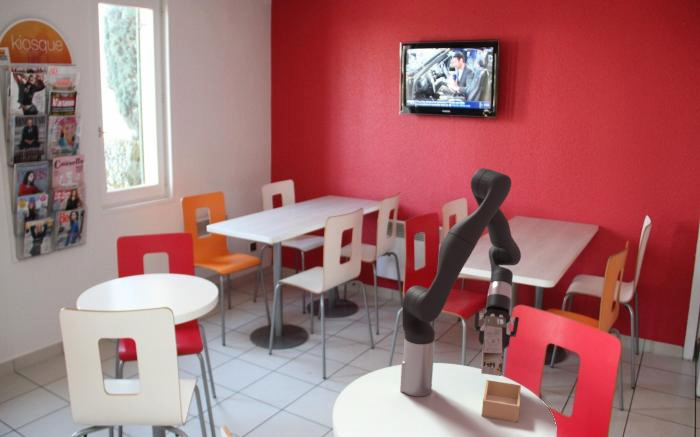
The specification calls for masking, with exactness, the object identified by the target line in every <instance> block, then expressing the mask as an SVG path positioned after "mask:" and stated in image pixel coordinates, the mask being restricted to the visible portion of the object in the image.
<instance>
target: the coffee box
mask: <svg viewBox="0 0 700 437" xmlns="http://www.w3.org/2000/svg"><path fill="white" fill-rule="evenodd" d="M484 323H485V328H484V338H483V345H482V349H481V350H482V351H481V361H480V365H481V366H480V368H481V372H480V373H481V374H483V375H490V376H495V377H496V376H497V377H501V376H502V373H503V372H502V371H503V364H504V356H505V349H506V348H505V340H506V331H507V326H508V324H507V325H506V318H504V317H494V316H486V318H484Z"/></svg>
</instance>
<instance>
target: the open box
mask: <svg viewBox="0 0 700 437" xmlns="http://www.w3.org/2000/svg"><path fill="white" fill-rule="evenodd" d="M521 388H522V386H521V384H516V383H507V382H502V381H495V380H489V379H486V381H485V387H484V393H483V397H482V408H481V410H482V411H481V417H486V418H490V419H497V420H503V421H507V422H508V421H509V422H514V423H519V414H520V405H521V404H520V403H521V390H522V389H521Z"/></svg>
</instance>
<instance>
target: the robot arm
mask: <svg viewBox="0 0 700 437" xmlns="http://www.w3.org/2000/svg"><path fill="white" fill-rule="evenodd" d="M470 180H471V181H470V190H471V193H472V195H473V197H474V199H475V201H476V203H477V205H478V207H477V209H476V210H475V211H473V212H472V213H471V214H469V215H467V216H465V217H464V218H462V219H461V220H460V221H458V222H457V223H455V224H454V225H452V226H451V228H450V229H449V230H448V232H447V234H446V236H445V237H444V239H443V241H442V242H441V244H440V245H439V246H440V247H439V251H438V258H437V260H438V261H437V271H436V275H435V277H434V279H433V280H432V282H431V285H430V286H429V288H426V287H423V286H421V285H413V286H411V287H410V288H408V289H407V291H405V294H404V296H403V300H402V328H403V332H404V339H403V340H404V342H403V343H404V344H403V357H402V358H403V360H402V362H401V368H400V371H401V372H400V388H399V389H400V392H402V393H405V394H406V395H408V396H412V397H426V396H428V395H430V394H431V393H432V387H433V384H432V383H433V369H434V356H435V354H434V353H435V339H436V331H435V329H434V328H433V326H432V324H431V322H434V321H435V320H436V319H437V318H439V316H440V314H441V313H442V312H443V309H444V307H445V305H446V302H447V300H448V298H449V296H450V294H451V291H452V289H453V287H454V286H455V284H456V281H457V279H458V277H459V276H460V274H461V272H462V270H463V268H464V266H465V265H466V263H467V261H468V260H469V258H470V257H471V255H472V253H473V251H474V250H475V248H476V246H477V244H478V242H479V240H480V239H481V237H482V235H483V233H484V232H485V231H486V228H487V231H488V232H487V233H488V236H489V241H490V243H491V247H489V250H488V258H489V262H490V263H489V264H490V282H489V288H488V291H487V298H486V306H485V311H484V312H479V311H478V310H477V311H475V314H474V315H475V316H474V331H475V332H478V334H479V335H478V343H480V345H481V346H483V338H484V328H485V322H483V324H482V325H481V326H479V325H480V321H481V320H482V318H484V319H485V318H486V316H494V317H504V318H506V325H507V331H506V340H505V348H504V349H507V348H509V347H510V340H511V338H515V337H516V336H517V333H518V327H519V323H520V322H519V321H520V318H519V317H518V316H516V317H512V316H511V314H510V311H511V304H512V303H511V302H512V288H513V276H514V275H513V274H514V273H513V271H512V270H511V269H510V268H507V267H503V266H516V265H518V264H519V263H520V261H521V258H522V253H521V250H520V247H519V246H518V244H517V243H516V241H515V240H514V238H513V235H512V232H511V227H510V224H509V220H508V219H507V217H506V215H505V214H504V212H503V211H502V210H501V209H500V207H501V206H503V203H504V202H505V200H506V199H507V197H508V195H509V193H510V191H511V188H512V187H511V186H512V179H511V177H510V176H509V175H507V174H504V173H503V172H502V173H501V172H499V171H496V170H493V169H489V168H485V167H481V168H479V169H476V170H475V172H474V173H473V175H472V177H471V179H470ZM510 322H511V325H513V327H512V331H510V329H509V326H508V323H510Z"/></svg>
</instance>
